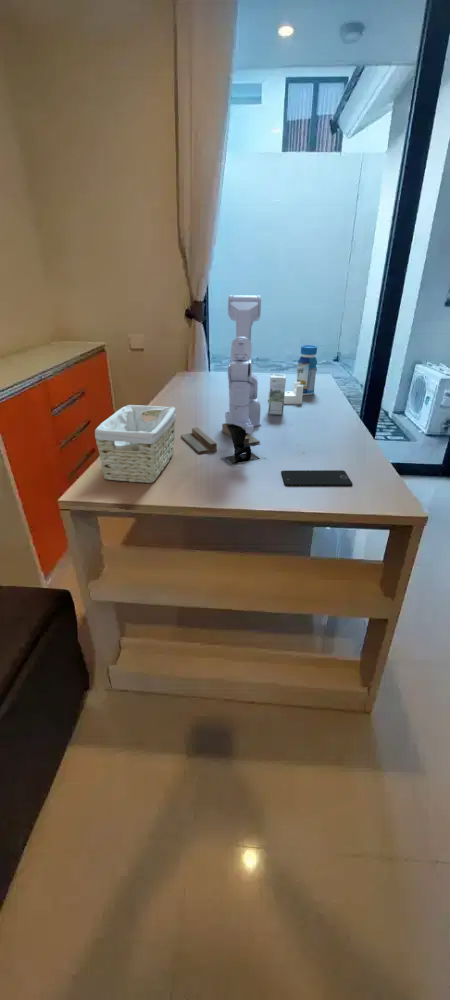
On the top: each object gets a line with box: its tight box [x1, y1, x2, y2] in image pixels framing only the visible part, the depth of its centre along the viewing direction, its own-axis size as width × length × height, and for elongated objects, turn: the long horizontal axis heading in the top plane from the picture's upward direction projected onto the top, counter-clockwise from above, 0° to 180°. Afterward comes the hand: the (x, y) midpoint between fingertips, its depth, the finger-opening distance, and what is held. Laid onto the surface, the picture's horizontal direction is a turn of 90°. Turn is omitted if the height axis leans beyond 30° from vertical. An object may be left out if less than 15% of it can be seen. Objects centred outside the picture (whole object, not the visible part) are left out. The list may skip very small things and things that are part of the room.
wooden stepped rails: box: [180, 422, 261, 455], centre depth 143 cm, size 21×16×2 cm
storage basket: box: [94, 404, 177, 484], centre depth 122 cm, size 24×16×15 cm
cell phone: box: [280, 469, 353, 487], centre depth 119 cm, size 9×18×1 cm, turn 91°
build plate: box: [224, 443, 261, 465], centre depth 130 cm, size 12×7×5 cm, turn 115°
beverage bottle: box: [296, 344, 318, 396], centre depth 191 cm, size 8×8×20 cm
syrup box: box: [267, 373, 287, 416], centre depth 167 cm, size 6×6×14 cm
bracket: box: [268, 381, 304, 405], centre depth 183 cm, size 13×7×8 cm, turn 93°
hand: (238, 448), depth 132 cm, fingers closed
